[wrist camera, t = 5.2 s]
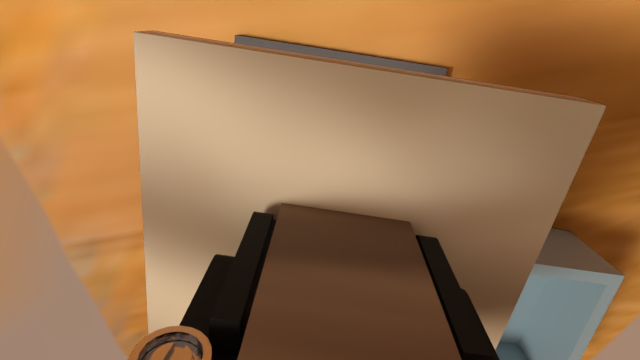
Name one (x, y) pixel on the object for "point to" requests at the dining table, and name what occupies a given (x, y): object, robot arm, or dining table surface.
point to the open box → (560, 302)
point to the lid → (345, 192)
